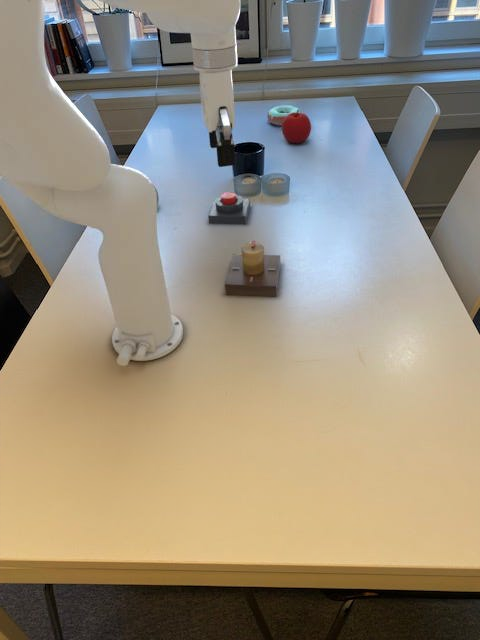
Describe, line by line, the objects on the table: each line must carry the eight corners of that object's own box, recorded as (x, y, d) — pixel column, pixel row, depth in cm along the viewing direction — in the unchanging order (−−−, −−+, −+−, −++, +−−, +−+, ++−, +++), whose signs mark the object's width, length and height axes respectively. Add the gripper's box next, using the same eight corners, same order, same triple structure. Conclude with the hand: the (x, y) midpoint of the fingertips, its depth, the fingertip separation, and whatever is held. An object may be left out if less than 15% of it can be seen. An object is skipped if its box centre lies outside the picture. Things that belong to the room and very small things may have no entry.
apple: (312, 136, 160) (313, 104, 154) (308, 147, 153) (309, 114, 147) (284, 135, 162) (284, 104, 156) (279, 145, 155) (279, 113, 149)
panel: (276, 296, 95) (276, 285, 94) (225, 294, 97) (224, 283, 95) (280, 265, 104) (280, 254, 102) (233, 263, 105) (232, 253, 103)
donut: (302, 115, 176) (302, 104, 174) (300, 127, 167) (300, 115, 165) (269, 116, 178) (268, 104, 175) (265, 127, 169) (265, 115, 166)
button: (235, 205, 118) (235, 198, 117) (220, 205, 118) (220, 198, 117) (237, 198, 121) (237, 191, 120) (223, 198, 121) (222, 191, 120)
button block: (245, 224, 118) (245, 209, 115) (209, 223, 119) (207, 208, 116) (250, 207, 125) (249, 192, 122) (215, 206, 126) (214, 192, 123)
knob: (263, 275, 97) (262, 252, 93) (241, 275, 97) (239, 252, 94) (265, 263, 100) (265, 240, 97) (244, 262, 101) (242, 240, 97)
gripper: (187, 49, 90) (197, 142, 101) (199, 71, 77) (209, 176, 88) (227, 45, 91) (233, 138, 102) (246, 67, 78) (250, 170, 89)
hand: (222, 155), depth 95 cm, fingers open, 9 cm apart
